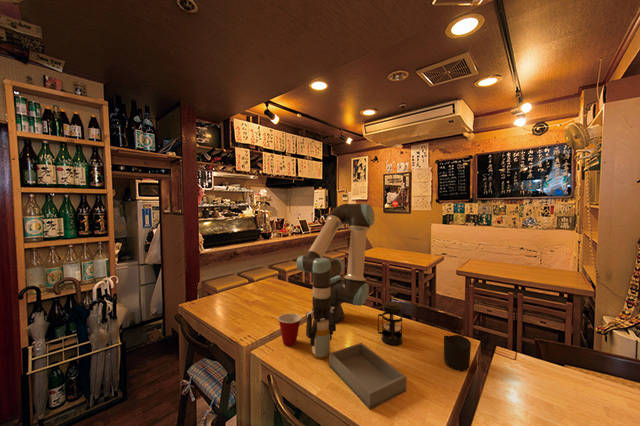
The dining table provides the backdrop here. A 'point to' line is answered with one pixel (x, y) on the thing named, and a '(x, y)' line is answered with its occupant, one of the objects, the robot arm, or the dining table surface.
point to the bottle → (322, 339)
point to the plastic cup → (289, 328)
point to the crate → (367, 374)
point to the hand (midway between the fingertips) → (321, 350)
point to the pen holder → (457, 352)
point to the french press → (391, 323)
